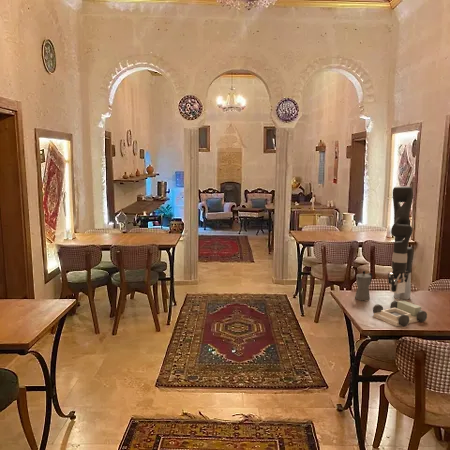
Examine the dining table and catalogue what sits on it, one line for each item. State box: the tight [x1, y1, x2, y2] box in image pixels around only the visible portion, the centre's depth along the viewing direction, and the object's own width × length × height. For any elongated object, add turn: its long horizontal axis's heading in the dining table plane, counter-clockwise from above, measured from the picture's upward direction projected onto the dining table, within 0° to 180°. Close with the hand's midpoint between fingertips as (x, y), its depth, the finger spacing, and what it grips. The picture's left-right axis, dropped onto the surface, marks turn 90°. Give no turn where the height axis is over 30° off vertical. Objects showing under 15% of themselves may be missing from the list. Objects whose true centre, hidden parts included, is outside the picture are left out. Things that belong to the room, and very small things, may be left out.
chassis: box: [372, 300, 428, 327], centre depth 247 cm, size 22×20×7 cm
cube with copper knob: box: [389, 279, 406, 294], centre depth 243 cm, size 6×6×7 cm
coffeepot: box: [354, 270, 373, 301], centre depth 280 cm, size 15×9×18 cm, turn 128°
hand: (397, 290), depth 243 cm, fingers closed on cube with copper knob, 5 cm apart
